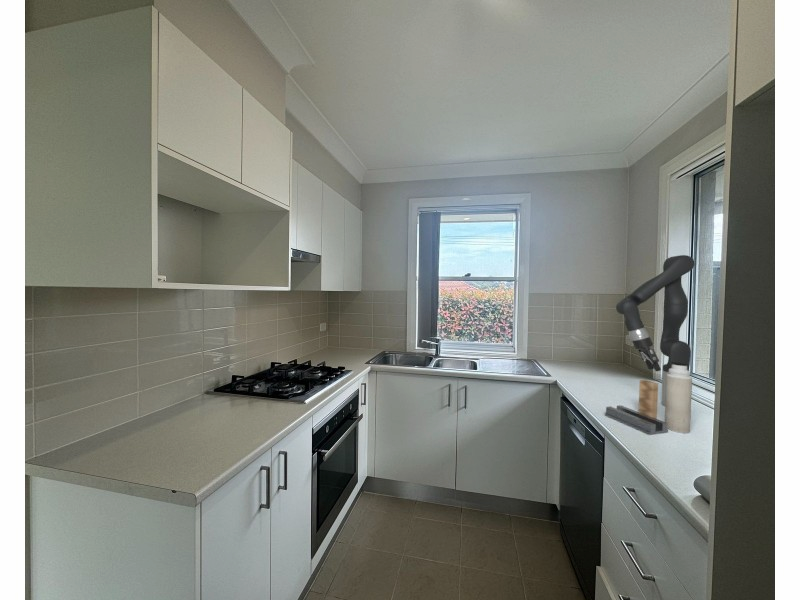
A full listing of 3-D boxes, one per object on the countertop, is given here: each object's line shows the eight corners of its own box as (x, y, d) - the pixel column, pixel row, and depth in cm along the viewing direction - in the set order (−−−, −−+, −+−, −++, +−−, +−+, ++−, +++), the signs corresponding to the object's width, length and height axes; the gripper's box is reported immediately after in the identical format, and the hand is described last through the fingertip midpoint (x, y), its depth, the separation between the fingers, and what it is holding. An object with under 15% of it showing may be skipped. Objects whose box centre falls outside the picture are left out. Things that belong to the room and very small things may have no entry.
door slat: (638, 414, 146) (639, 380, 145) (643, 413, 147) (644, 379, 146) (651, 419, 140) (653, 383, 140) (656, 418, 141) (658, 383, 140)
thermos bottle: (687, 427, 132) (689, 361, 131) (692, 435, 125) (695, 365, 124) (662, 423, 136) (665, 359, 135) (666, 430, 129) (668, 362, 128)
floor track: (604, 415, 144) (604, 406, 144) (621, 413, 146) (621, 405, 146) (649, 435, 124) (649, 425, 124) (668, 432, 127) (668, 422, 127)
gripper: (654, 335, 149) (670, 369, 145) (643, 335, 162) (657, 366, 158) (636, 340, 151) (651, 373, 147) (627, 340, 164) (641, 370, 161)
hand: (654, 369), depth 153 cm, fingers open, 8 cm apart
